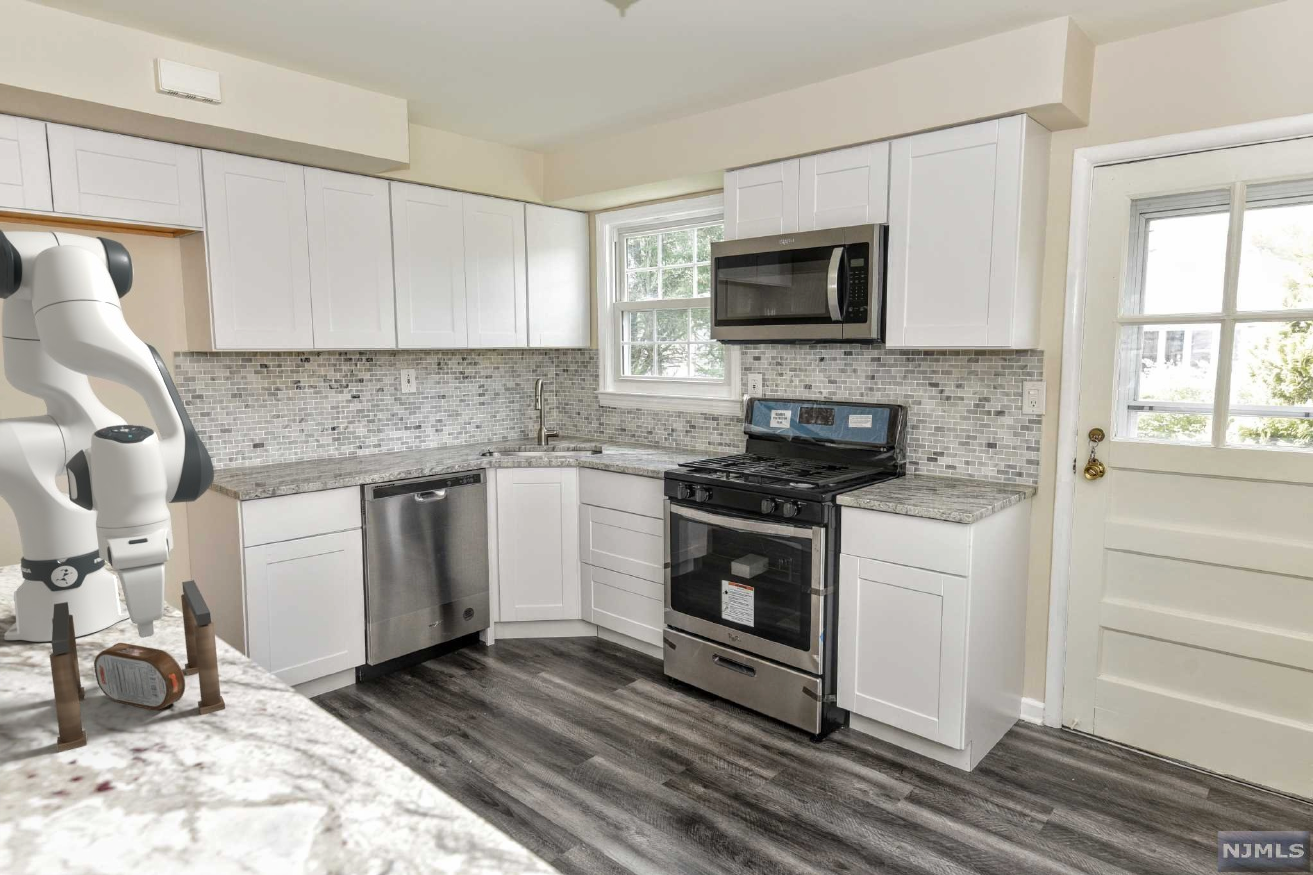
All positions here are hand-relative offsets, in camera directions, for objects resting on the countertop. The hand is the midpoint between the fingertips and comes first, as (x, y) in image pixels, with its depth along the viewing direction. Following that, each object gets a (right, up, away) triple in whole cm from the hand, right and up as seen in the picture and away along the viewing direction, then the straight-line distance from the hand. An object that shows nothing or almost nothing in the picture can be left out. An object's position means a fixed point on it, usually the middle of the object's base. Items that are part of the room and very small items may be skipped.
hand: (146, 633), depth 113 cm
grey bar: (-8, +2, -6) cm, 10 cm away
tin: (-1, -10, +1) cm, 11 cm away
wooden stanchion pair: (-1, -10, +1) cm, 10 cm away
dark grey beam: (+5, +3, +4) cm, 7 cm away
